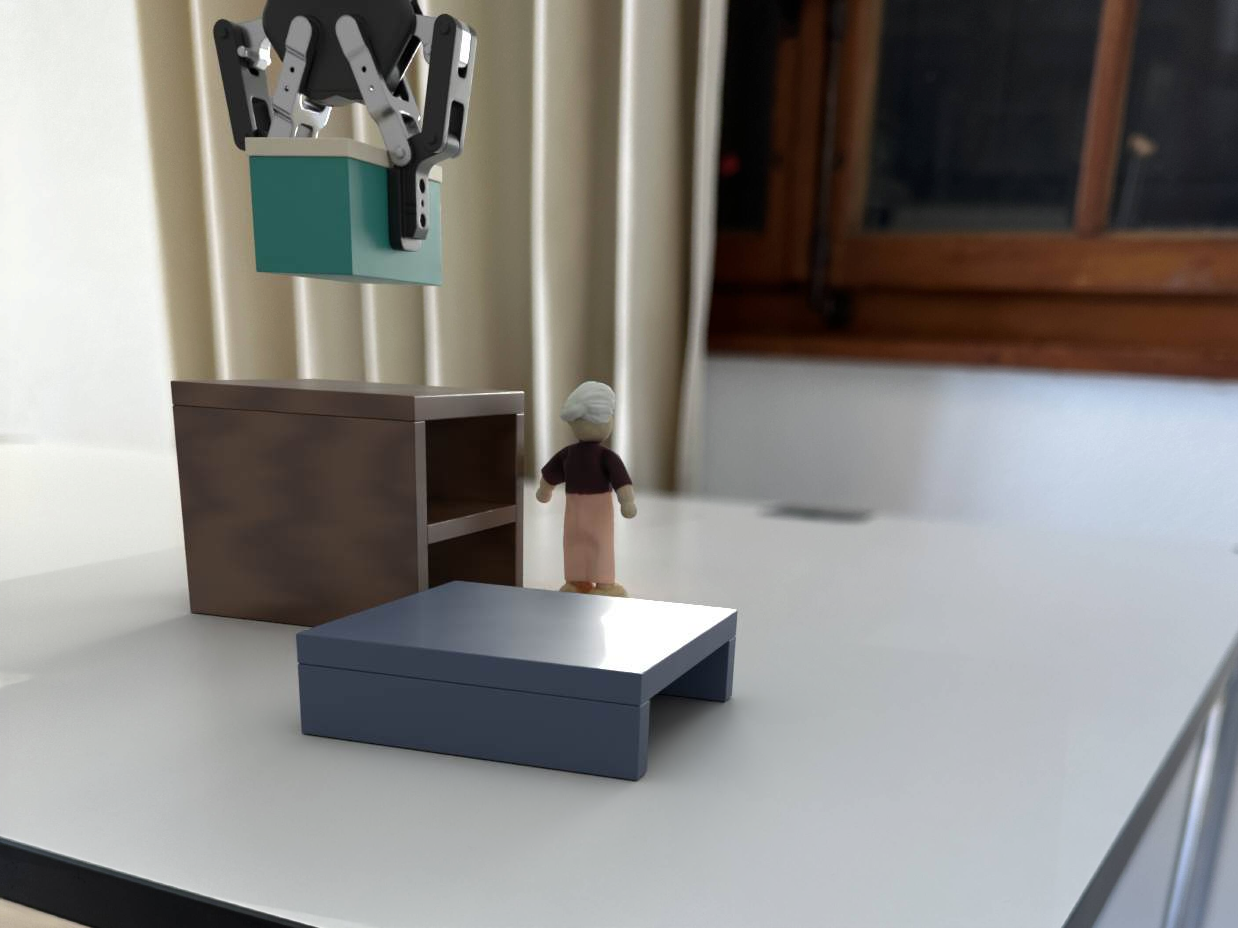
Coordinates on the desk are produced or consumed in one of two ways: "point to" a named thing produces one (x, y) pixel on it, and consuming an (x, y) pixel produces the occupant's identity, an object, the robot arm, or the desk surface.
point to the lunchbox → (334, 213)
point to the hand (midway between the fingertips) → (351, 247)
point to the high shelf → (344, 493)
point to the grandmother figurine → (589, 492)
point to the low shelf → (513, 674)
